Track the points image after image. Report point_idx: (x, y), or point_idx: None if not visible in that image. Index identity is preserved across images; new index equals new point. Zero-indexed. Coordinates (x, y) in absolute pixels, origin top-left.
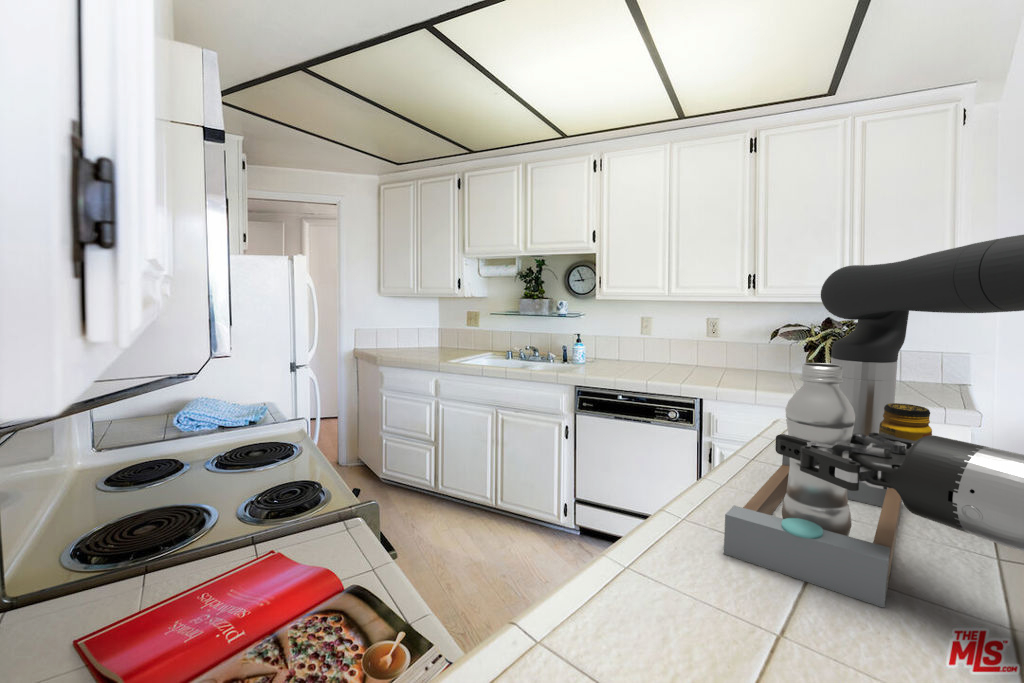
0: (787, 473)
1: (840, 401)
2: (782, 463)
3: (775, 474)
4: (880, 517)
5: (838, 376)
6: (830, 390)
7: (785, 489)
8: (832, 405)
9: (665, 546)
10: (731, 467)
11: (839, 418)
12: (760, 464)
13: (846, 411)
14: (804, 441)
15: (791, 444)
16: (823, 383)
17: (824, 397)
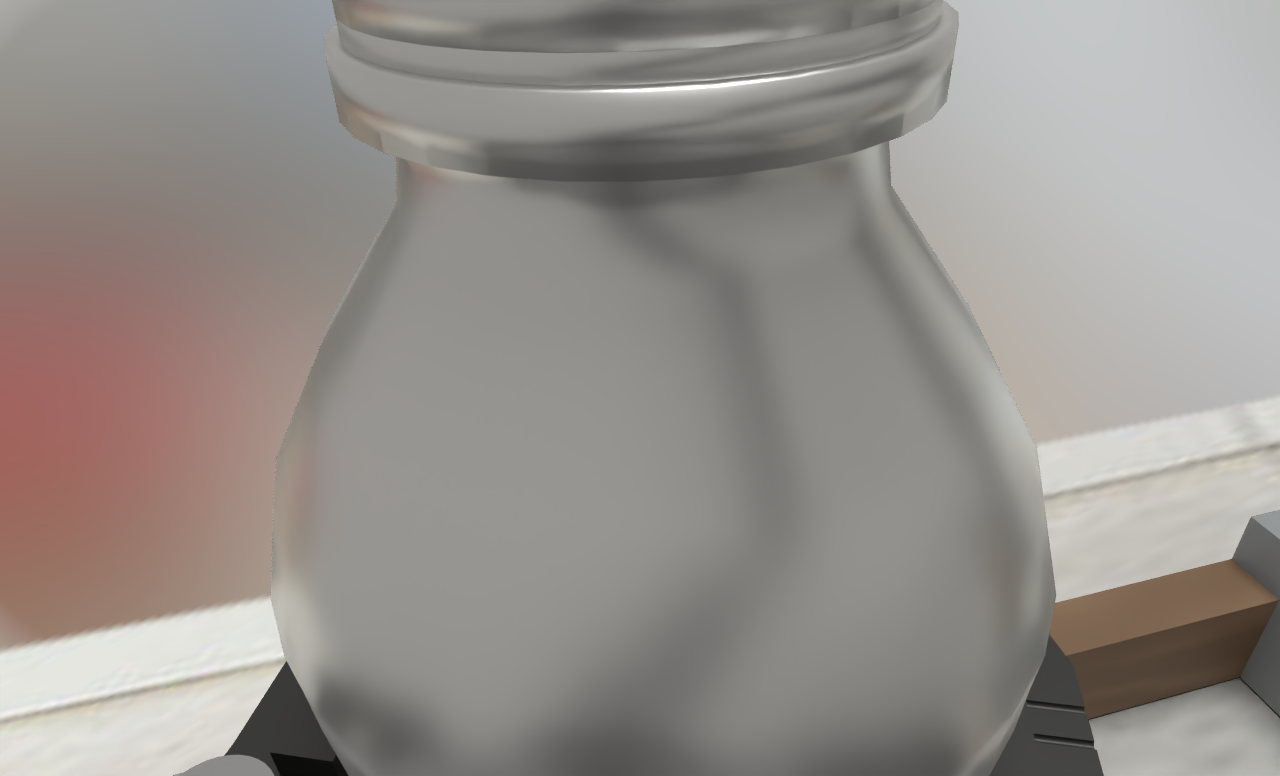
0: (1156, 629)
1: (507, 528)
2: (1235, 555)
3: (1071, 607)
4: None
5: (567, 9)
6: (457, 282)
7: (1101, 694)
8: (368, 538)
9: (162, 720)
10: (1089, 456)
11: (377, 768)
12: (1270, 486)
13: (518, 731)
14: (297, 718)
15: (280, 670)
16: (350, 131)
17: (358, 371)
